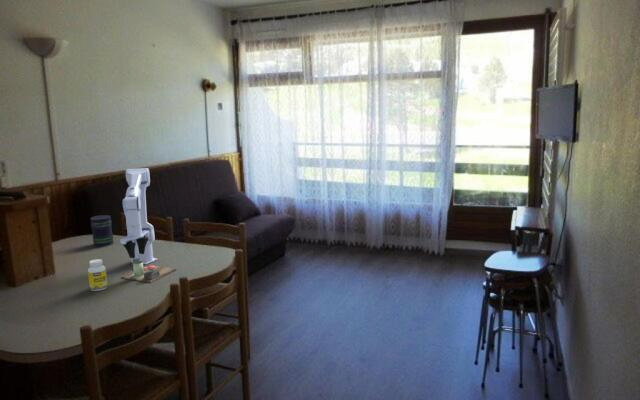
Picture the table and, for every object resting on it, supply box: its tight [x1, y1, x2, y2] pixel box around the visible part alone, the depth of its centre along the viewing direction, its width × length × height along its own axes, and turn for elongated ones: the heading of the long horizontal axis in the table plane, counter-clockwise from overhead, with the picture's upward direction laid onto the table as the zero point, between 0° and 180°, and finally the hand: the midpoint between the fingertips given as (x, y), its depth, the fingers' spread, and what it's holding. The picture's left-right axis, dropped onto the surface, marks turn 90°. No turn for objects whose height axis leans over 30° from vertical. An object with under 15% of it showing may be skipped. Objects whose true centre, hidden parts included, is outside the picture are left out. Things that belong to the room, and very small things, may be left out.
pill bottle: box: [87, 258, 108, 292], centre depth 188 cm, size 6×6×12 cm
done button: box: [146, 264, 156, 271], centre depth 198 cm, size 3×3×2 cm
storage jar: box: [90, 214, 114, 248], centre depth 249 cm, size 10×10×15 cm
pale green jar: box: [131, 258, 144, 277], centre depth 201 cm, size 4×4×7 cm
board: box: [120, 264, 177, 283], centre depth 204 cm, size 16×16×3 cm
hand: (137, 255), depth 200 cm, fingers open, 5 cm apart
